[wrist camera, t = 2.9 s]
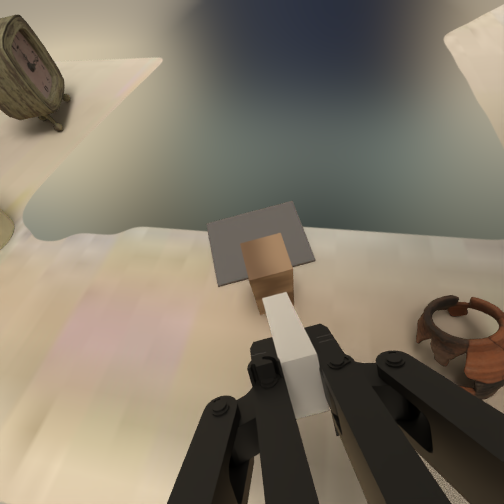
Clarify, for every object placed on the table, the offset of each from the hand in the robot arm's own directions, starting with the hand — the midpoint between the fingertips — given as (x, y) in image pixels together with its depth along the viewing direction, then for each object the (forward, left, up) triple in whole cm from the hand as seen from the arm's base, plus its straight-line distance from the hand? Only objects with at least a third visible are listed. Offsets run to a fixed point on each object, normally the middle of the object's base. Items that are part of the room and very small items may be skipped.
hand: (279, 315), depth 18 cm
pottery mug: (-20, +3, -21) cm, 29 cm away
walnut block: (-1, -9, -20) cm, 22 cm away
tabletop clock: (+36, -64, -21) cm, 77 cm away
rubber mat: (-1, -18, -20) cm, 27 cm away
